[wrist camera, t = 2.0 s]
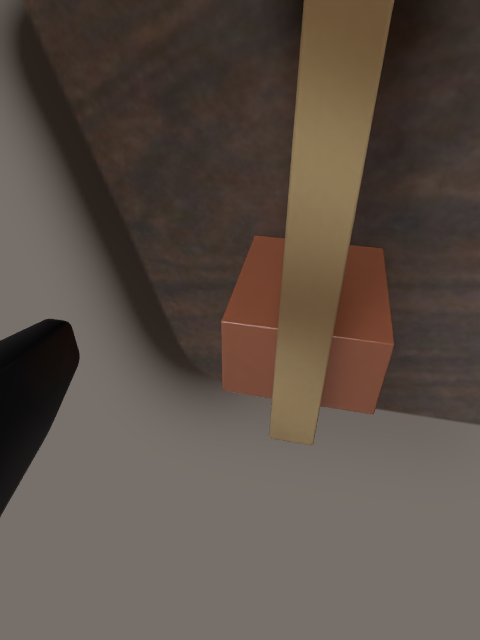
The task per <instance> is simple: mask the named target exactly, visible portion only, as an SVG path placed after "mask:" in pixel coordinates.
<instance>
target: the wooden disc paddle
mask: <svg viewBox="0 0 480 640" xmlns="http://www.w3.org/2000/svg"><path fill="white" fill-rule="evenodd" d="M393 5H394V0H304V4H303V17H302V29H301V42H300V55H299V67H298V80H297V92H296V105H295V117H294V130H293V143H292V155H291V168H290V180H289V193H288V206H287V218H286V231H285V243H284V256H283V268H282V281H281V294H280V306H279V319H278V331H277V344H276V356H275V369H274V382H273V394H272V407H271V420H270V432H269V437H270V438H272V439H278V440H283V441H289V442H295V443H301V444H306V445H313V443H314V437H315V432H316V426H317V421H318V415H319V410H320V405H321V399H322V394H323V388H324V383H325V377H326V372H327V366H328V361H329V355H330V350H331V344H332V339H333V333H334V328H335V322H336V317H337V311H338V306H339V300H340V295H341V290H342V284H343V279H344V273H345V268H346V262H347V257H348V251H349V246H350V240H351V235H352V229H353V224H354V218H355V213H356V207H357V202H358V196H359V191H360V186H361V180H362V175H363V169H364V164H365V158H366V153H367V147H368V142H369V136H370V131H371V125H372V120H373V114H374V109H375V103H376V98H377V92H378V87H379V81H380V76H381V71H382V65H383V60H384V54H385V49H386V43H387V38H388V32H389V27H390V21H391V16H392V10H393Z"/></svg>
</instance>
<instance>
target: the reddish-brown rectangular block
mask: <svg viewBox="0 0 480 640" xmlns="http://www.w3.org/2000/svg"><path fill="white" fill-rule="evenodd" d="M284 243H285V238H277V237H267V236H258V235H255V236H254V238H253V241H252V243H251V246H250V249H249V251H248V254H247V256H246V259H245V261H244V264H243V267H242V269H241V272H240V274H239V277H238V280H237V282H236V285H235V287H234V290H233V292H232V295H231V298H230V300H229V303H228V305H227V308H226V310H225V313H224V316H223V318H222V321H221V341H222V386H223V390H224V391H228V392H235V393H241V394H247V395H253V396H259V397H266V398H272V394H273V382H274V369H275V356H276V344H277V331H278V319H279V306H280V294H281V281H282V268H283V256H284ZM393 348H394V336H393V328H392V319H391V310H390V302H389V293H388V284H387V276H386V267H385V258H384V250H383V248H375V247H366V246H356V245H350V246H349V251H348V257H347V262H346V268H345V273H344V279H343V284H342V290H341V295H340V300H339V306H338V311H337V317H336V322H335V328H334V333H333V339H332V344H331V350H330V355H329V361H328V366H327V372H326V377H325V383H324V388H323V394H322V399H321V405H320V406H322V407H329V408H335V409H341V410H348V411H354V412H361V413H367V414H374V412H375V408H376V405H377V402H378V398H379V395H380V392H381V388H382V385H383V382H384V378H385V375H386V372H387V368H388V365H389V362H390V358H391V355H392V352H393Z"/></svg>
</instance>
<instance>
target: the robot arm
mask: <svg viewBox="0 0 480 640" xmlns="http://www.w3.org/2000/svg"><path fill="white" fill-rule="evenodd" d="M79 358H80V357H79V350H78V347H77V343H76V340H75V336H74V333H73V330H72V327H71V325H70V324H69V322H66V321H63V320H55V319H46V320H43V321H41V322H39V323H37V324H35V325H33V326H31V327H29V328H26V329H24V330H22V331H20V332H18V333H16V334H14V335H11V336H9V337H7V338H5V339H3V340H1V341H0V516H1V514H2V513H3V511H4V509H5V508H6V506H7V504H8V502H9V501H10V499H11V497H12V495H13V494H14V492H15V490H16V488H17V487H18V485H19V483H20V481H21V480H22V478H23V476H24V474H25V473H26V471H27V469H28V467H29V466H30V464H31V462H32V460H33V459H34V457H35V455H36V453H37V451H38V450H39V448H40V446H41V445H42V443H43V441H44V439H45V437H46V436H47V434H48V432H49V430H50V428H51V425H52V423H53V421H54V419H55V417H56V414H57V412H58V410H59V407H60V405H61V403H62V401H63V398H64V396H65V394H66V391H67V389H68V387H69V385H70V382H71V380H72V378H73V375H74V373H75V371H76V369H77V366H78V363H79Z"/></svg>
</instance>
